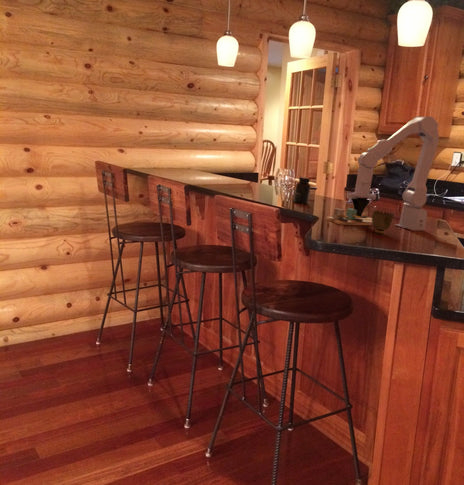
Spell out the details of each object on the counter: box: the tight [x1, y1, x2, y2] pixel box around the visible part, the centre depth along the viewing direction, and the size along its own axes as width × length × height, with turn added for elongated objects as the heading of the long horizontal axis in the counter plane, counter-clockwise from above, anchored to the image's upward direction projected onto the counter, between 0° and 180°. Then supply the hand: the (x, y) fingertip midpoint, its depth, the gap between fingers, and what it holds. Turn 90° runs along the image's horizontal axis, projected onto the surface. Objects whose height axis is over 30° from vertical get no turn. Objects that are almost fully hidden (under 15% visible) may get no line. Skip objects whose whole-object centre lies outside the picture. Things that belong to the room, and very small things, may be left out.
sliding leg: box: [345, 208, 360, 220], centre depth 204 cm, size 6×2×4 cm, turn 32°
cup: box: [371, 210, 395, 236], centre depth 188 cm, size 8×7×8 cm
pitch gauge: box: [324, 207, 373, 226], centre depth 207 cm, size 10×24×5 cm, turn 122°
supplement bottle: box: [293, 176, 312, 205], centre depth 244 cm, size 7×7×12 cm
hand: (357, 216), depth 207 cm, fingers closed
